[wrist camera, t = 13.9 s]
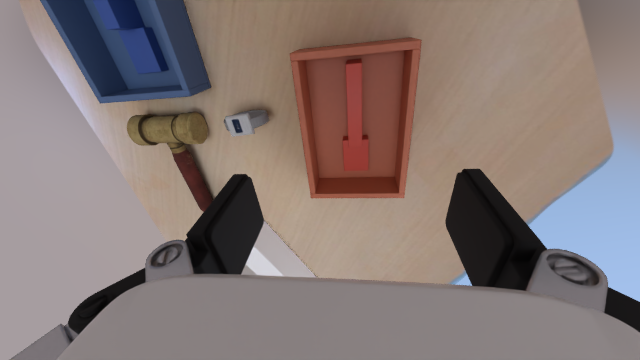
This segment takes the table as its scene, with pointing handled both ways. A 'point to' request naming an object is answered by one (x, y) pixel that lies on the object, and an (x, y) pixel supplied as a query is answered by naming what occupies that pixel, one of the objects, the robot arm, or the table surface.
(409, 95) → the terracotta bin
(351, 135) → the red wooden stick
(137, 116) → the gavel
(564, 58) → the table surface
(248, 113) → the wristwatch
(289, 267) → the triangle block
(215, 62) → the table surface
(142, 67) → the blue block-headed bar
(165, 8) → the blue bin
